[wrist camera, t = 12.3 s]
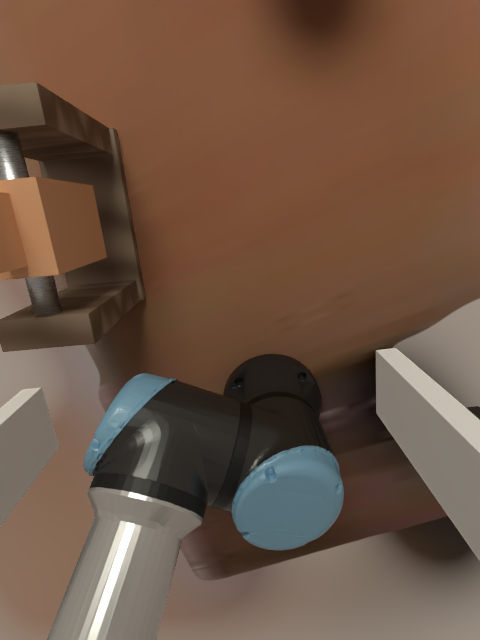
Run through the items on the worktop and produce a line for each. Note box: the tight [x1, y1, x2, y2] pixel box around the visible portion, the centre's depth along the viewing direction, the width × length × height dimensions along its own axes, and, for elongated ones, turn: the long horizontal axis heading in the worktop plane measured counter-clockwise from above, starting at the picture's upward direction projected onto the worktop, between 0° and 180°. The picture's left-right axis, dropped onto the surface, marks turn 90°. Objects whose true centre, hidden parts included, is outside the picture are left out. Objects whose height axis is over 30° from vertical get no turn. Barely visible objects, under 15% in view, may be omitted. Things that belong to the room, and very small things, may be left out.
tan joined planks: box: [0, 177, 107, 280], centre depth 31 cm, size 8×7×23 cm
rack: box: [0, 82, 146, 352], centre depth 41 cm, size 22×10×18 cm, turn 5°
